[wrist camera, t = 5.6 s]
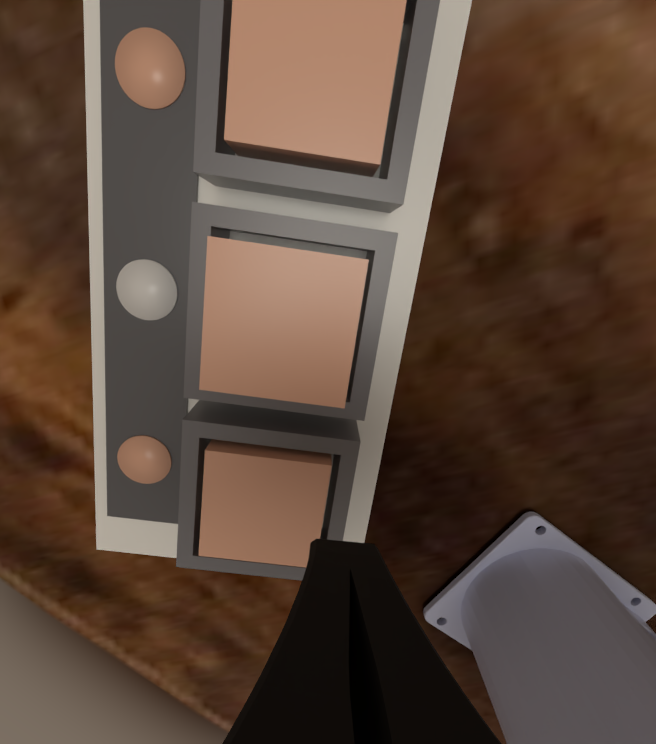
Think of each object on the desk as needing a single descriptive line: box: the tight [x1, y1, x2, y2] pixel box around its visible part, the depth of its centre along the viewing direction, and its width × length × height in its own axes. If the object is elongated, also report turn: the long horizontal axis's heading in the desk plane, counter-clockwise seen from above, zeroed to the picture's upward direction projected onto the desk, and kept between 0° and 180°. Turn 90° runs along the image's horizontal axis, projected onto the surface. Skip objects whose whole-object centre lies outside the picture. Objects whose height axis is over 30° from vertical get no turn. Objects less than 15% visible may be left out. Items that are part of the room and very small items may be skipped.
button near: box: [224, 0, 407, 177], centre depth 12 cm, size 4×4×2 cm
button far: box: [199, 439, 332, 568], centre depth 16 cm, size 4×4×2 cm
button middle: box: [199, 236, 369, 408], centre depth 13 cm, size 4×4×2 cm
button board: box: [83, 0, 472, 580], centre depth 15 cm, size 24×12×4 cm, turn 172°
